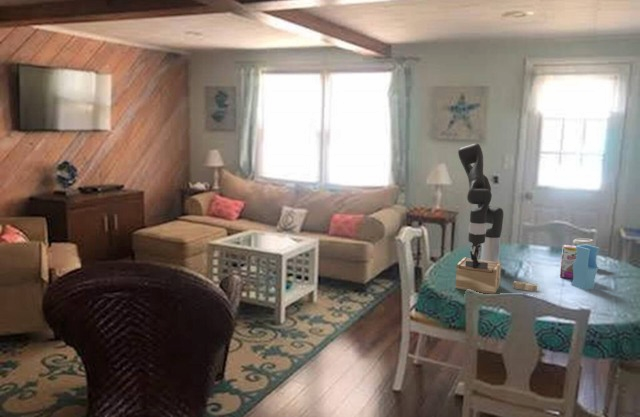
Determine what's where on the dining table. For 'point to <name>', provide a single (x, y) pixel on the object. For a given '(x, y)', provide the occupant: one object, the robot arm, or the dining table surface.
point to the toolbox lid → (479, 265)
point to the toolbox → (478, 279)
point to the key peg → (525, 286)
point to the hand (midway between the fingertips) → (475, 268)
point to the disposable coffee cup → (583, 242)
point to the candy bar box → (568, 261)
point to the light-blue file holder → (585, 267)
